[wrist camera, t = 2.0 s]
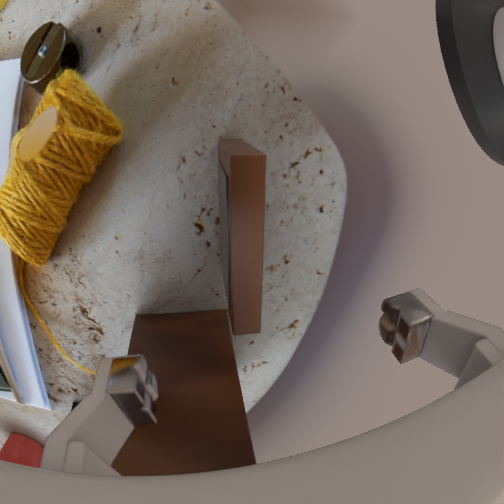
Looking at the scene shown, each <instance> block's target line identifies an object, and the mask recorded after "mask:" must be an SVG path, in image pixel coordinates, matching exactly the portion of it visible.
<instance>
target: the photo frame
mask: <svg viewBox="0 0 504 504" xmlns="http://www.w3.org/2000/svg"><path fill="white" fill-rule="evenodd" d="M218 154H219V160H218V173H219V220H220V252H221V269H222V275H223V281H224V287H225V293H226V298H227V304H228V310H229V315H230V321H231V326H232V331H233V335H243V334H253V333H260V329H261V303H262V274H263V244H264V210H265V173H266V155H265V154H263V153H262V152H260V151H259V150H257V149H256V148H254V147H252V146H251V145H249V144H248V143H246V142H244V141H243V140H241V139H227V140H219V141H218Z"/></svg>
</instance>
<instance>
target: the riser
mask: <svg viewBox="0 0 504 504" xmlns="http://www.w3.org/2000/svg"><path fill="white" fill-rule="evenodd" d="M138 354H142V355H144V356H145V358H146V359H147V361H148V367H147V368H148V369H150V370H152V371H153V373H154V375H155V377H156V380H157V384H158V398H157V400H156V401H155V404H156V406H157V407H158V418H157V424H150V425H140V426H134V429H133V430H132V432H131V433H130V435H129V437H128V438H127V440H126V441H125V443H124V444H123V446H122V448H121V449H120V451H119V452H118V454H117V456H116V457H115V459H114V460H113V462H112V468H113V469H115V470H116V471H117V472H118V473H120V474H121V476H161V475H178V474H190V473H200V472H209V471H217V470H224V469H231V468H237V467H243V466H248V465H253V464H256V459H255V455H254V450H253V445H252V441H251V436H250V431H249V427H248V421H247V416H246V412H245V407H244V402H243V397H242V391H241V386H240V381H239V376H238V371H237V365H236V360H235V355H234V349H233V344H232V338H231V332H230V327H229V321H228V315H227V310H217V311H203V312H188V313H170V314H150V315H136V316H135V321H134V326H133V330H132V335H131V340H130V345H129V350H128V355H127V356H129V355H138Z"/></svg>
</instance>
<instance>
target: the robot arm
mask: <svg viewBox="0 0 504 504" xmlns="http://www.w3.org/2000/svg"><path fill="white" fill-rule="evenodd" d="M493 41H494V50H495V55H496V60H497V65H498V69H499V73H500V76H501V79H502V83H503V85H504V7H502V8H500V9H499V10H498V11H497V12H496V14H495V17H494V22H493ZM381 310H382V311H383V312H384V314H383V315H382V317H381V318H380V320H379V330H380V335H381V337H382V339H383V340H384V342H385V343H386V344H388V345H390V346H392V353H393V354H394V355H395V357H396V358H397V360H398V361H399V362H400V364H402V363H405V362H407V361H410V360H412V359H415V358H417V357H420V358H422V359H424V360H426V361H427V362H429V363H431V364H433V365H435V366H437V367H438V368H440V369H442V370H444V371H446V372H448V373H450V374H452V375H453V376H455V377H457V378H459V380H458V382H457V384H456V386H455V388H454V391H452V392H450V393H448V394H446V395H445V396H443V397H441V398H439V399H437V400H436V401H434V402H432V403H430V404H428V405H426V406H424V407H422V408H420V409H418V410H416V411H414V412H412V413H410V414H408V415H405V416H403V417H401V418H399V419H396V420H394V421H392V422H390V423H388V424H385V425H383V426H380V427H378V428H375V429H373V430H370V431H368V432H365V433H362V434H360V435H357V436H355V437H352V438H349V439H346V440H343V441H340V442H337V443H334V444H331V445H328V446H325V447H322V448H318V449H315V450H311V451H308V452H304V453H301V454H297V455H294V456H289V457H285V458H281V459H277V460H273V461H268V462H263V463H258V464H253V465H248V466H243V467H237V468H231V469H224V470H217V471H209V472H200V473H190V474H178V475H161V476H121V474H120V473H118V472H117V471H116V470H115V469H113V468H112V467H111V466H110V465H111V463H112V462H113V460H114V459H115V457H116V456H117V454H118V452H119V451H120V449H121V448H122V446H123V444H124V443H125V441H126V440H127V438H128V437H129V435H130V433H131V432H132V430H133V429H134V426H140V425H150V424H157V418H158V407H157V406H156V404H155V401H156V400H157V398H158V384H157V380H156V377H155V375H154V373H153V371H152V370H150V369H148V368H147V367H148V361H147V359H146V358H145V356H144V355H142V354H138V355H129V356H119V357H112V358H102V359H101V360H100V361H99V364H98V368H97V372H96V376H95V380H94V384H93V388H92V392H91V395H87V396H86V397H85V398H84V399H83V400H82V401H81V402H80V403H79V404H78V405H77V406H76V407H75V408H74V409H73V410H72V411H71V412H70V413H69V414H68V416H67V417H66V418H65V419H64V420H63V421H62V422H61V423H60V424H59V425H58V426H57V427H56V428H55V429H54V430H53V431H52V432H51V433H50V435H49V436H48V437H47V438H46V442H45V446H44V451H43V455H42V460H41V464H40V468H36V467H31V466H26V465H21V464H16V463H12V462H8V461H4V460H0V504H504V331H503V330H502V329H501V328H500V327H497V326H494V325H491V324H488V323H485V322H482V321H479V320H476V319H473V318H470V317H467V316H463V315H460V314H457V313H454V312H451V311H447V312H445V311H444V310H443V309H442V308H441V307H440V306H439V305H438V304H437V303H436V302H435V301H434V300H433V299H432V298H431V297H429V296H428V295H427V294H426V293H425V292H424V291H423V290H422V289H420V288H417V289H414V290H411V291H408V292H406V293H403V294H400V295H397V296H394V297H391V298H388V299H385V300H384V301H383V303H382V306H381Z"/></svg>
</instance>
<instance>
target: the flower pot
mask: <svg viewBox="0 0 504 504" xmlns="http://www.w3.org/2000/svg"><path fill="white" fill-rule="evenodd" d="M43 451H44V447H43V446H42V445H40V444H39V443H37V442H36V441H34V440H32V439H31V438H29V437H26V436H24V435H21V434H16V433H12V434H10V436H9V437H8V439H7V441H6V442H5V444H4V446H3V447H2V449H1V451H0V460H4V461H8V462H12V463H16V464H21V465H26V466H31V467H36V468H40V464H41V460H42V455H43Z"/></svg>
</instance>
